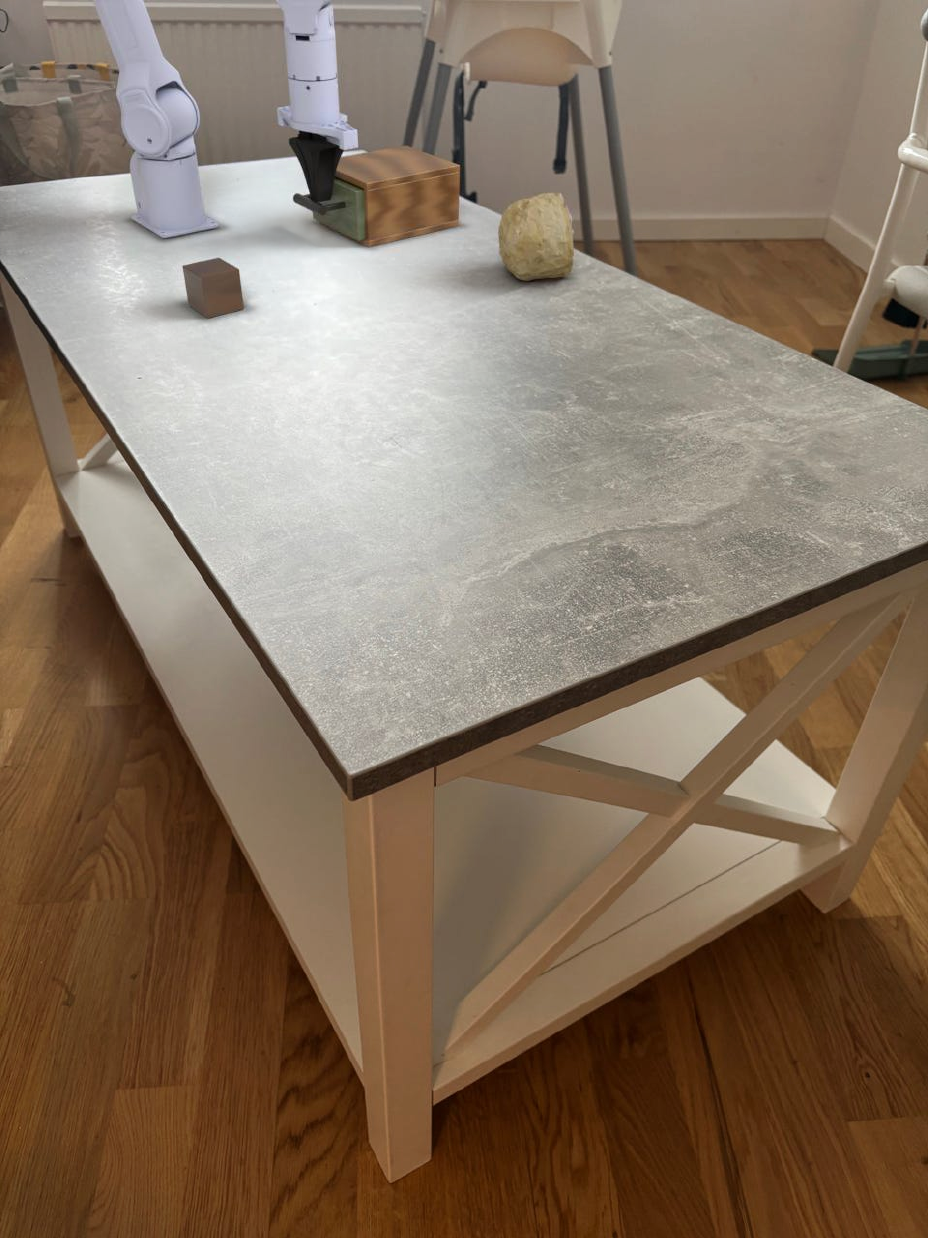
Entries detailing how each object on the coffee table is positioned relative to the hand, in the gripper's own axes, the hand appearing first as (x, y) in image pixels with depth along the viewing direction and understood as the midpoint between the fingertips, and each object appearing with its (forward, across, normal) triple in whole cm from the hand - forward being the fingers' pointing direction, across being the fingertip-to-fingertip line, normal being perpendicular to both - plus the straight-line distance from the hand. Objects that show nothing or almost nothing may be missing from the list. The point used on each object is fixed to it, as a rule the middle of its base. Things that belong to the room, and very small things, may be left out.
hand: (321, 199), depth 119 cm
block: (+5, -12, +22) cm, 25 cm away
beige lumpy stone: (+5, -25, -13) cm, 29 cm away
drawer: (+4, 0, -7) cm, 8 cm away
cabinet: (+5, 0, -10) cm, 11 cm away
